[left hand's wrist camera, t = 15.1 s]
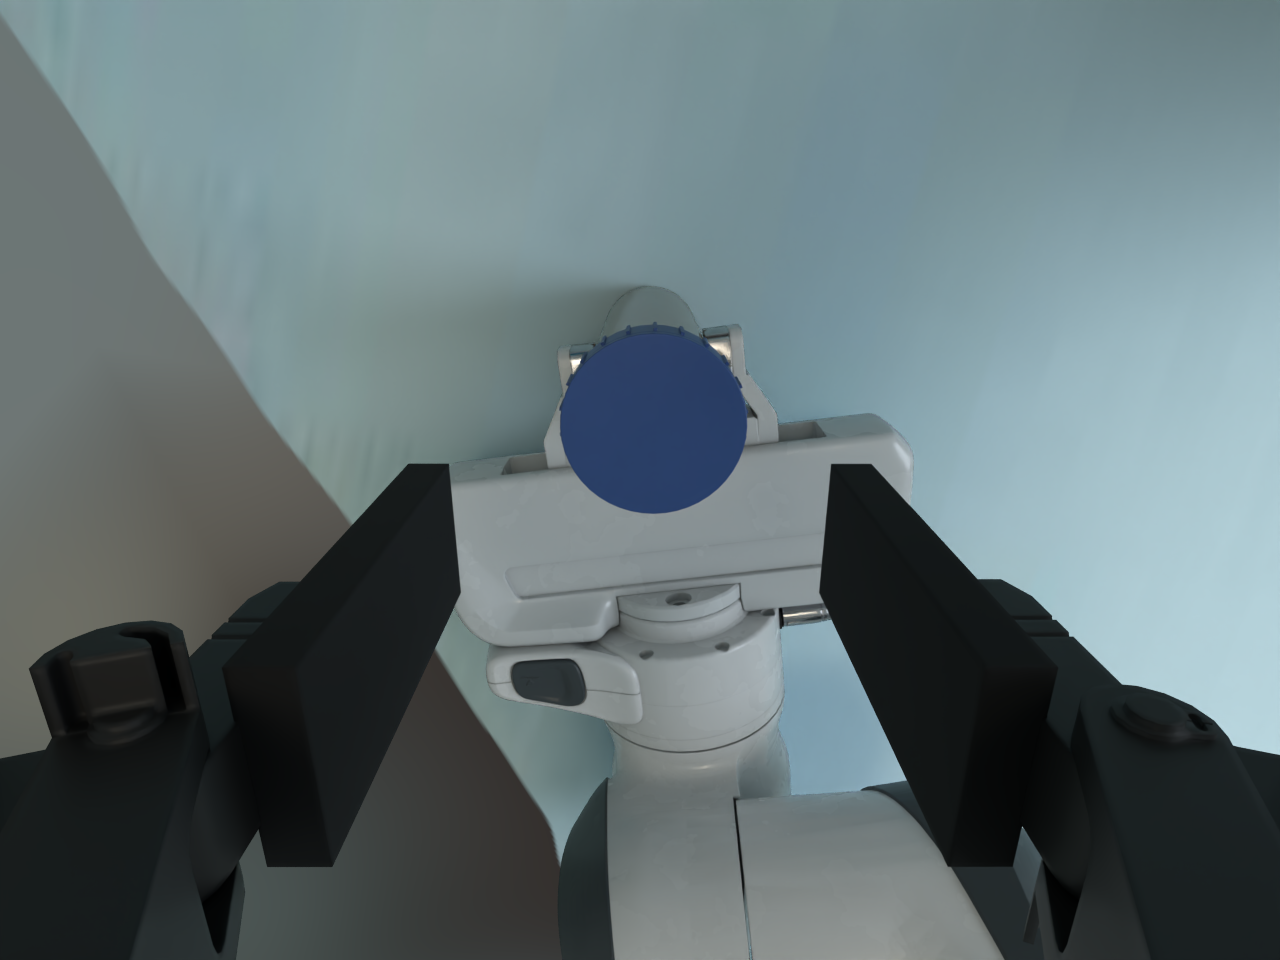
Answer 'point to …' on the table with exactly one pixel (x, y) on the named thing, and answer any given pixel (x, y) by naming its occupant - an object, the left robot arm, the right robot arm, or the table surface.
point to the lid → (653, 419)
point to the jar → (649, 311)
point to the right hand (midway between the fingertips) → (647, 337)
